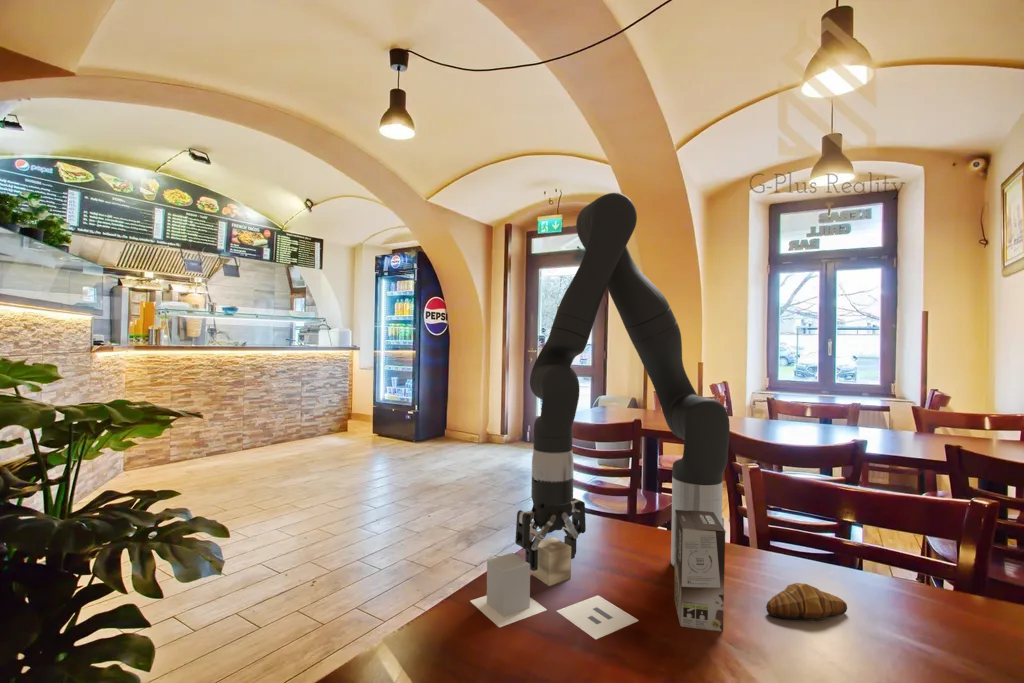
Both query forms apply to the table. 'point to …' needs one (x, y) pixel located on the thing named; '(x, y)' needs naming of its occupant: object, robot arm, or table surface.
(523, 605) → the grey block
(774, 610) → the croissant
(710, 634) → the table surface
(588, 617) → the code tile
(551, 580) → the maple block
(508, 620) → the code tile
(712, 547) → the coffee box
